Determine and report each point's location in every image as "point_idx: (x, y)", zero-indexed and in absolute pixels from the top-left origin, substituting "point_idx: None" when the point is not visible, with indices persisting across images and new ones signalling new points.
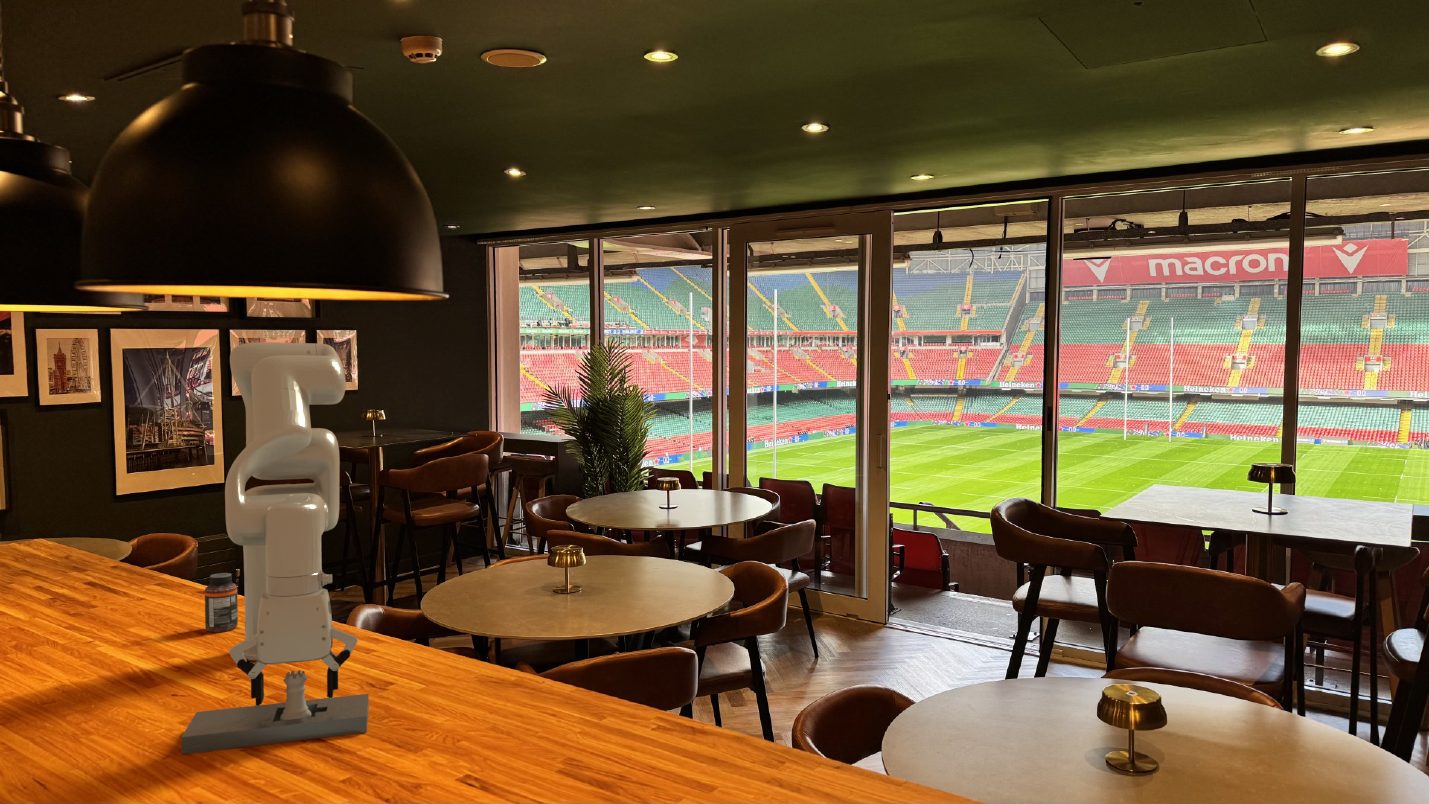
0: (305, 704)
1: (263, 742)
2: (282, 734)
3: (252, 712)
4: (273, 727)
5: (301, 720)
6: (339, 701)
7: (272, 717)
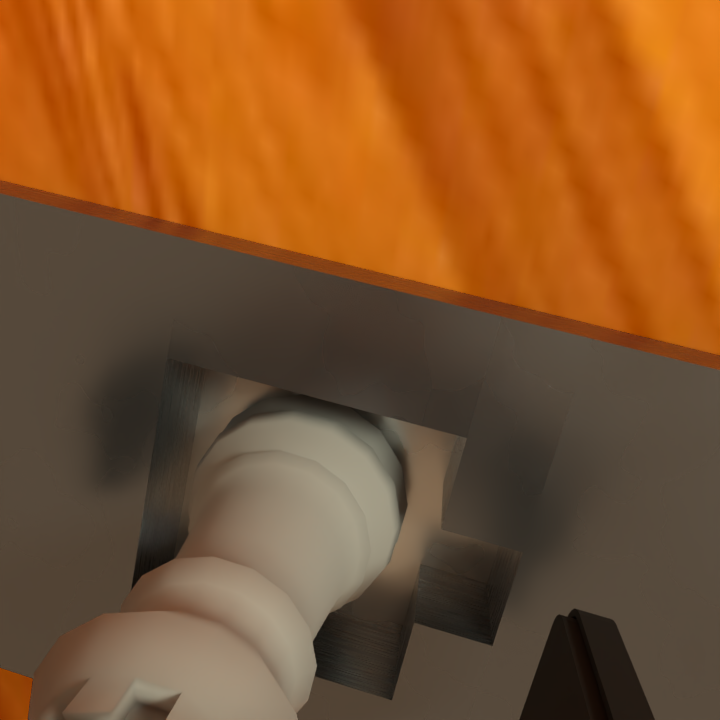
0: (339, 595)
1: None
2: None
3: (1, 349)
4: None
5: (300, 711)
6: (644, 486)
7: (127, 541)
